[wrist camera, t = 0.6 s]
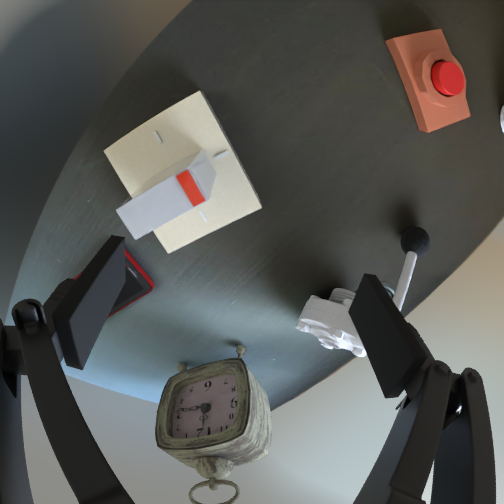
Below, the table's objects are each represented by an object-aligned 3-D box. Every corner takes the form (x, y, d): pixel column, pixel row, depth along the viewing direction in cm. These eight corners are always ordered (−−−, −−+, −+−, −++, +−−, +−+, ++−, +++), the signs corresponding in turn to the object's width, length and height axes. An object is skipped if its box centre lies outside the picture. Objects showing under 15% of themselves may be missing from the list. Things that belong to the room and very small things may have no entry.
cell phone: (60, 288, 39) (58, 292, 38) (121, 241, 36) (118, 244, 35) (93, 323, 42) (91, 327, 42) (157, 284, 39) (155, 288, 39)
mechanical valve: (279, 320, 39) (372, 341, 27) (331, 215, 45) (416, 202, 33) (323, 350, 44) (407, 371, 31) (364, 254, 50) (443, 251, 37)
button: (425, 65, 24) (434, 64, 22) (449, 59, 23) (457, 59, 22) (437, 97, 26) (446, 98, 24) (459, 90, 25) (468, 91, 24)
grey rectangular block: (160, 204, 31) (134, 241, 23) (146, 181, 30) (114, 211, 22) (216, 173, 30) (208, 201, 22) (203, 148, 29) (188, 166, 21)
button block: (384, 40, 26) (400, 35, 22) (431, 30, 24) (449, 26, 21) (418, 130, 31) (436, 135, 27) (460, 114, 30) (479, 118, 26)
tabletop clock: (247, 334, 44) (256, 496, 22) (269, 368, 48) (285, 509, 26) (167, 359, 46) (143, 500, 24) (195, 389, 50) (185, 516, 28)
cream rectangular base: (113, 146, 31) (102, 151, 28) (203, 91, 29) (199, 90, 26) (173, 242, 37) (168, 254, 34) (260, 199, 35) (262, 208, 32)
